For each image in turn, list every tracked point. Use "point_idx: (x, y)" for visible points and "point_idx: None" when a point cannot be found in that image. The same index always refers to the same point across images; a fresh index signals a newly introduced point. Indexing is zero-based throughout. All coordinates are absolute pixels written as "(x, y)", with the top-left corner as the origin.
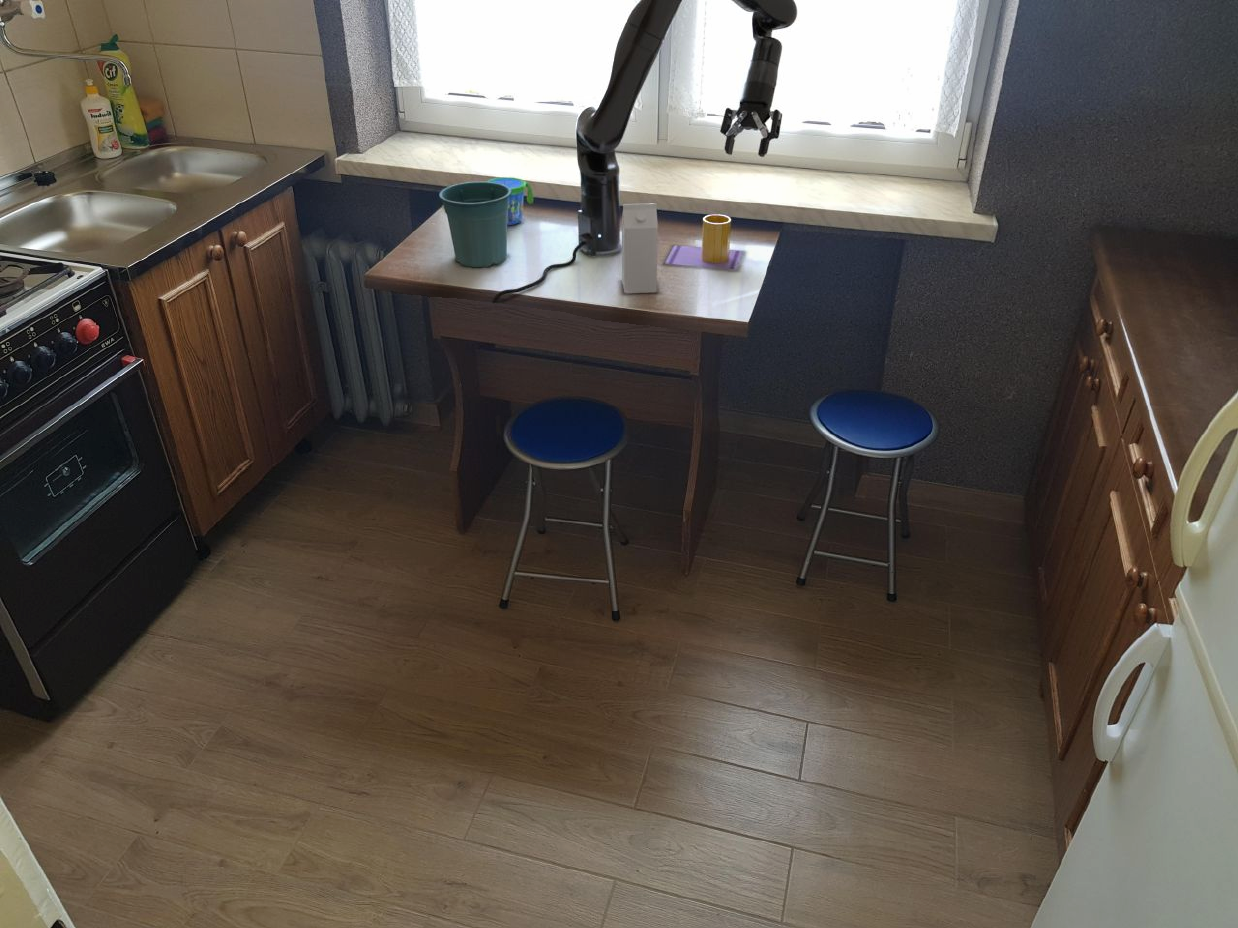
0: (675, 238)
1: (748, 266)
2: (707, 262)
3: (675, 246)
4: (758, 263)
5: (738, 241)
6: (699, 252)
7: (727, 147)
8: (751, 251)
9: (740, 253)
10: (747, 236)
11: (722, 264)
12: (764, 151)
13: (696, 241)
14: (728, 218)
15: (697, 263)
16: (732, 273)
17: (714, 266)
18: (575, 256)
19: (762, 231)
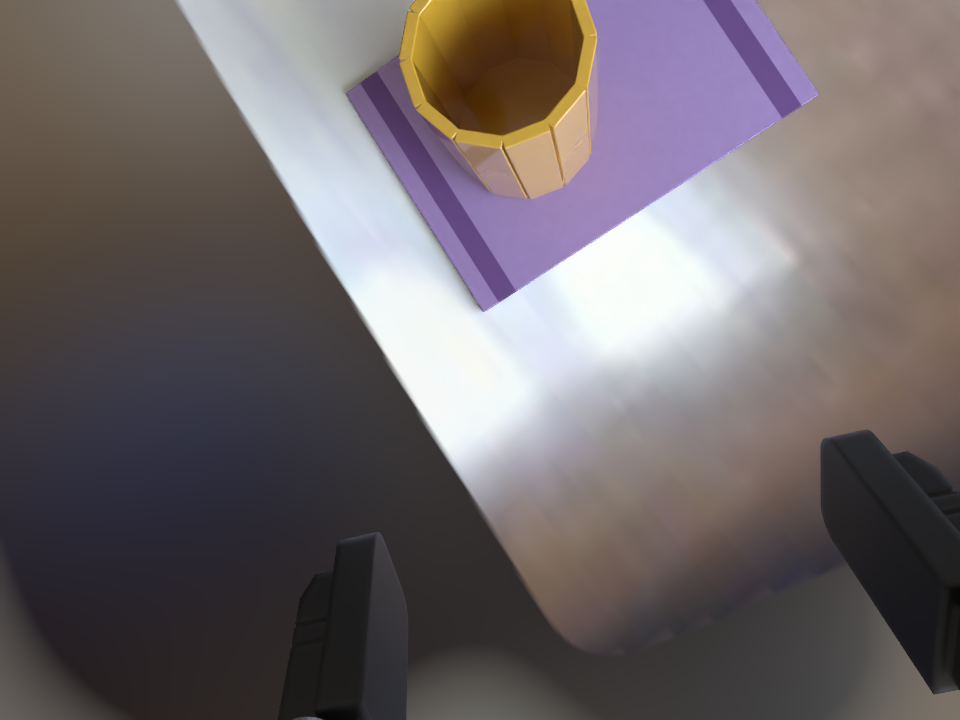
0: (905, 194)
1: (346, 186)
2: None
3: (799, 84)
4: (337, 253)
5: (606, 418)
6: (637, 121)
7: (877, 463)
8: (463, 353)
9: (470, 272)
10: (620, 513)
11: None
12: (308, 592)
13: (779, 248)
14: (458, 129)
15: None
16: (344, 60)
17: None
18: None
19: (611, 633)
